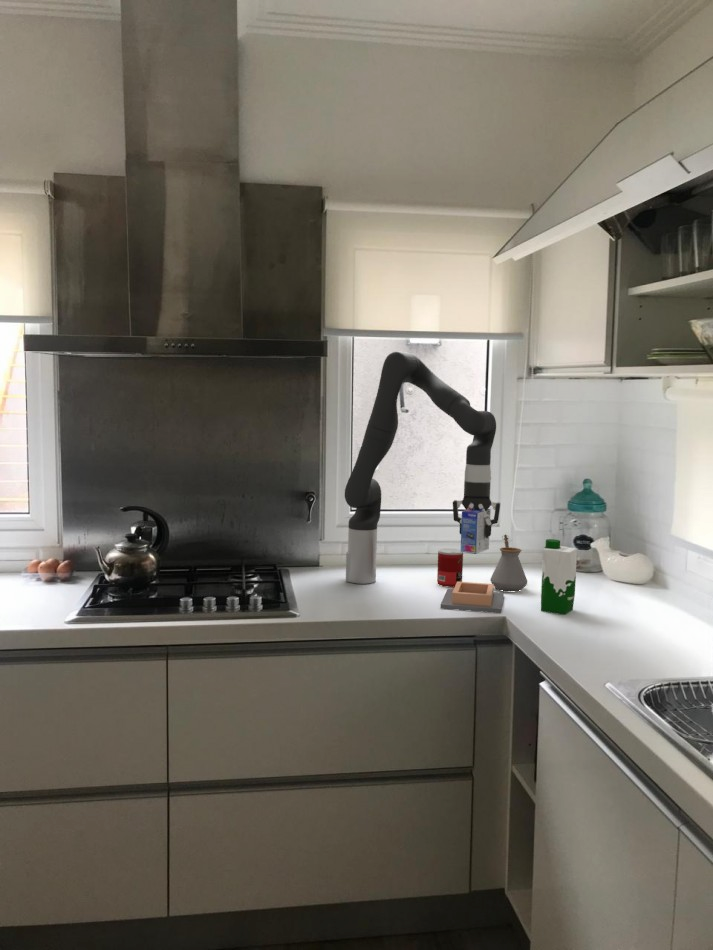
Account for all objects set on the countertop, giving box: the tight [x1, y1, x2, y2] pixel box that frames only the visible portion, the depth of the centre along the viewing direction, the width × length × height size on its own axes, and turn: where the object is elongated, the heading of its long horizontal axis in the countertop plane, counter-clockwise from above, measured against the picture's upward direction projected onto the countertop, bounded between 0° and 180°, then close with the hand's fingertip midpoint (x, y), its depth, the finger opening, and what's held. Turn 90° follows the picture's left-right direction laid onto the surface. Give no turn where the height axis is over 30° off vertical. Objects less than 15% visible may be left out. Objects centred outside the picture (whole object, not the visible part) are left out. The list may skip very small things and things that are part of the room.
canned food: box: [436, 548, 464, 588], centre depth 266 cm, size 8×8×11 cm
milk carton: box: [540, 538, 578, 616], centre depth 237 cm, size 9×9×20 cm
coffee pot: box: [490, 534, 528, 592], centre depth 266 cm, size 21×12×15 cm, turn 176°
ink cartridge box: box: [460, 502, 491, 555], centre depth 242 cm, size 10×6×14 cm, turn 149°
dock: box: [439, 581, 505, 614], centre depth 244 cm, size 17×20×4 cm
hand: (475, 536), depth 243 cm, fingers closed on ink cartridge box, 6 cm apart
